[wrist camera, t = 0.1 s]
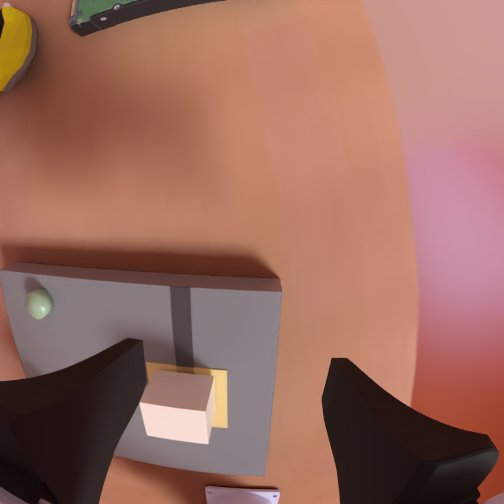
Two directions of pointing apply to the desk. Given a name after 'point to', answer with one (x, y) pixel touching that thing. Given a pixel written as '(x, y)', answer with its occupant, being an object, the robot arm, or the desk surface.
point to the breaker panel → (161, 347)
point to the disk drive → (118, 12)
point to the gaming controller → (15, 45)
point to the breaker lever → (179, 406)
